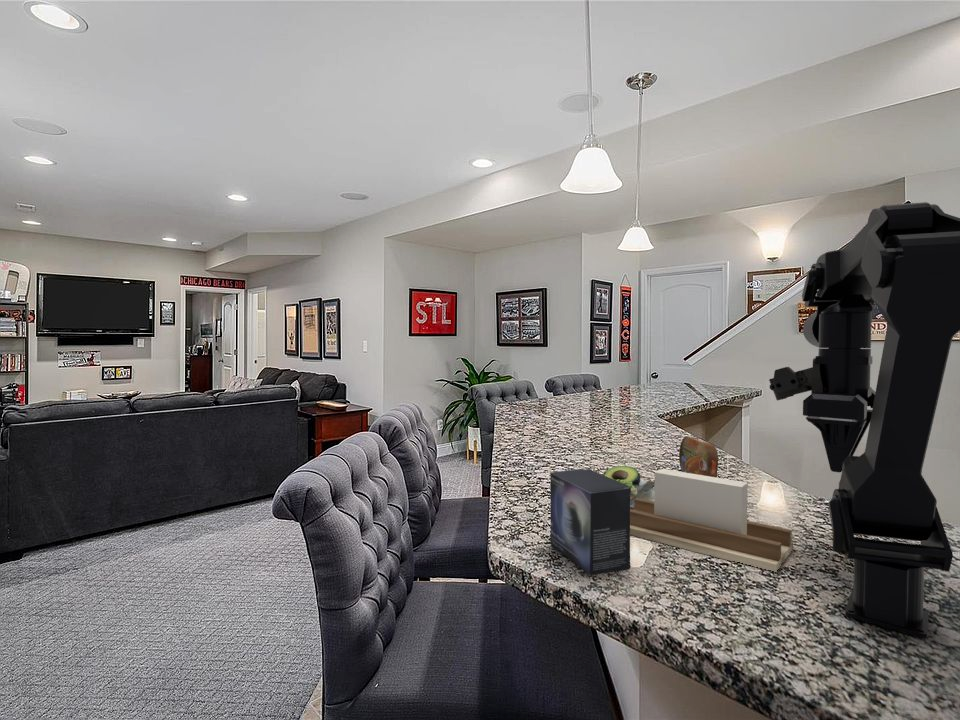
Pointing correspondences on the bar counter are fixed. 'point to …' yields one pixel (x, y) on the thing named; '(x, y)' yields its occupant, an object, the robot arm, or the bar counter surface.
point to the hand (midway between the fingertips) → (841, 465)
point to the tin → (698, 457)
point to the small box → (590, 520)
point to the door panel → (701, 500)
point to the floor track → (714, 538)
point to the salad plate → (632, 482)
